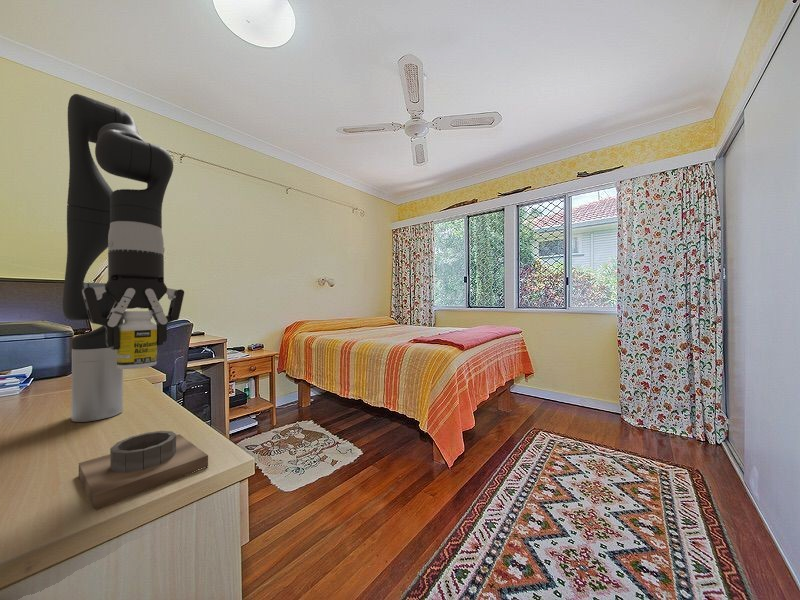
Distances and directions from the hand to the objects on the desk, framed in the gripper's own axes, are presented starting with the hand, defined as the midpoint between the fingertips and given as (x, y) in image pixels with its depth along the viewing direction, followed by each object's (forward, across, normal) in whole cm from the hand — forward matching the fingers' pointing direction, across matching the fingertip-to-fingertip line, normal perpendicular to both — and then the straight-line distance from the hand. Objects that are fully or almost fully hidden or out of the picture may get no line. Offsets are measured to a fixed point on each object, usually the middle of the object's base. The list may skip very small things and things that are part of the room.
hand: (137, 346), depth 55 cm
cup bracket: (+20, 0, +4) cm, 21 cm away
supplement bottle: (+4, 0, 0) cm, 4 cm away
